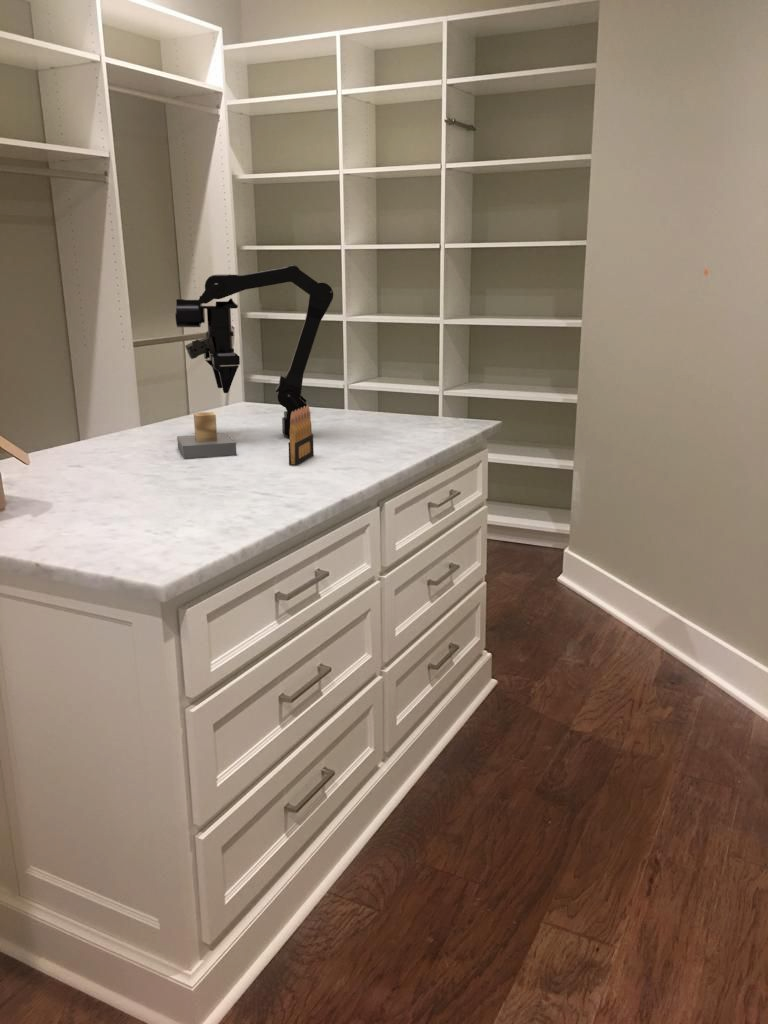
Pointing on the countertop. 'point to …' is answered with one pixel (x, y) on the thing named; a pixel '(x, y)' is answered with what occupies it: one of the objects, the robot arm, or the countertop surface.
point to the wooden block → (205, 426)
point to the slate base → (206, 447)
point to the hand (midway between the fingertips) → (222, 390)
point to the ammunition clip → (300, 436)
